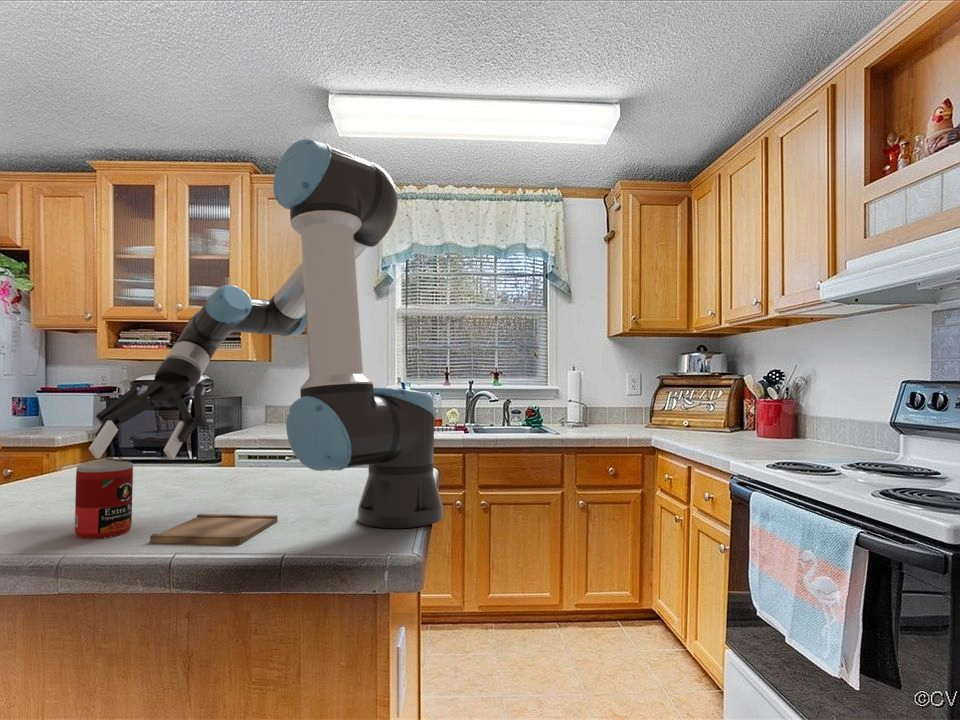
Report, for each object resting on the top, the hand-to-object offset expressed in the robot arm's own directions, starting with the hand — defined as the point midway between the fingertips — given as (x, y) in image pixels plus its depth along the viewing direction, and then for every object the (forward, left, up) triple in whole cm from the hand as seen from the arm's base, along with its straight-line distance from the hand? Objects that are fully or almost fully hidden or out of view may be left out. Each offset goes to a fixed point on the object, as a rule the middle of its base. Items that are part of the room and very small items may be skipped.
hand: (131, 454), depth 101 cm
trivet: (-19, +6, -12) cm, 23 cm away
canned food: (-1, +8, -12) cm, 14 cm away
